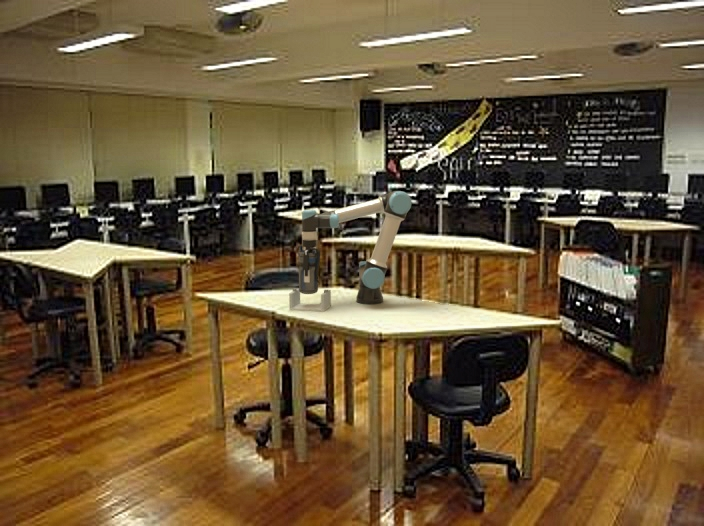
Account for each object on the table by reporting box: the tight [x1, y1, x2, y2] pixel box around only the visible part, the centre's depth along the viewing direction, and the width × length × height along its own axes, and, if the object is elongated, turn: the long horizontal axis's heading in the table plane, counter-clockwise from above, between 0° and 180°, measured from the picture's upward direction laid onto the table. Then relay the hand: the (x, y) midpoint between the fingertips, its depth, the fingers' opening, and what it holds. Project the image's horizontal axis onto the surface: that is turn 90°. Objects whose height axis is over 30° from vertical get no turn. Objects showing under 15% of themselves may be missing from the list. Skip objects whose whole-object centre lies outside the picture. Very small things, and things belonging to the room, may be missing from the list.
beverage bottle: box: [298, 245, 321, 295], centre depth 332 cm, size 10×13×25 cm
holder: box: [288, 287, 332, 313], centre depth 335 cm, size 19×14×10 cm
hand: (309, 280), depth 334 cm, fingers closed on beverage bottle, 10 cm apart
